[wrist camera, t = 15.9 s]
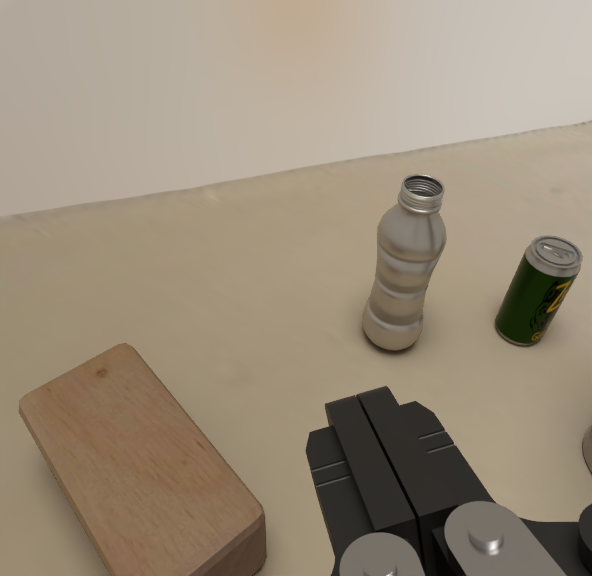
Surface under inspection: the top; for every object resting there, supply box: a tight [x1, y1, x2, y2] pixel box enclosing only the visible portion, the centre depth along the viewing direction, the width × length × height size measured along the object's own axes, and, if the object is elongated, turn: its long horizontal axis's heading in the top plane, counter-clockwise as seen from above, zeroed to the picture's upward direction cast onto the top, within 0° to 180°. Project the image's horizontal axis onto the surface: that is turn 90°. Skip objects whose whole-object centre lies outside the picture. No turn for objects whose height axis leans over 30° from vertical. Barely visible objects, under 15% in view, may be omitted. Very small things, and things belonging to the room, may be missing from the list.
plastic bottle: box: [363, 174, 447, 351], centre depth 52 cm, size 6×7×20 cm
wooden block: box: [19, 343, 267, 576], centre depth 41 cm, size 10×10×20 cm
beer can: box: [495, 236, 583, 346], centre depth 56 cm, size 5×5×12 cm
